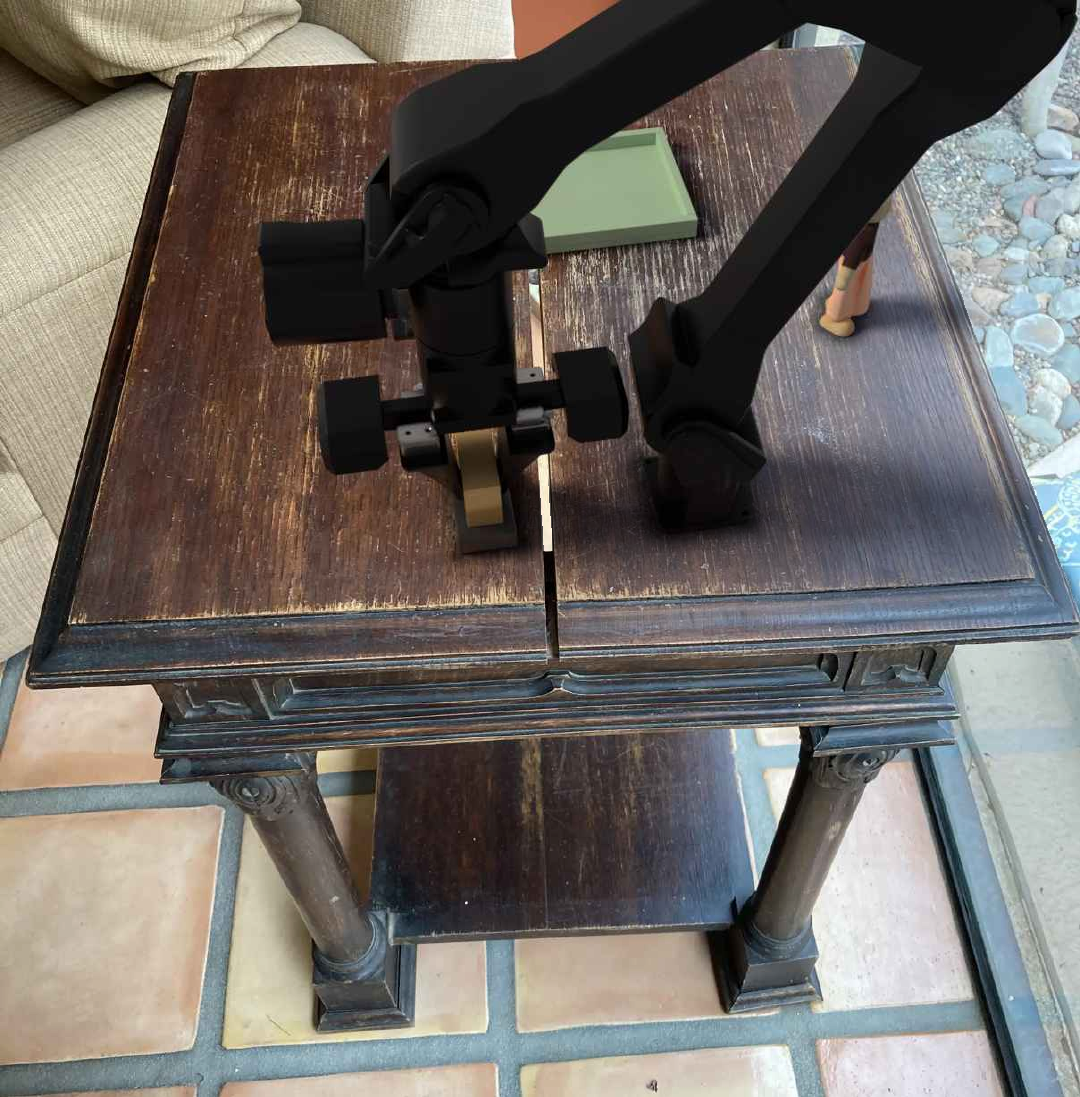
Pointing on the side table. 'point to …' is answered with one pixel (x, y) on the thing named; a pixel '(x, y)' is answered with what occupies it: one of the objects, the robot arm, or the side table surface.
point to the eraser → (481, 497)
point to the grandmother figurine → (854, 279)
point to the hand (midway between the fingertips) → (480, 491)
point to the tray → (618, 196)
